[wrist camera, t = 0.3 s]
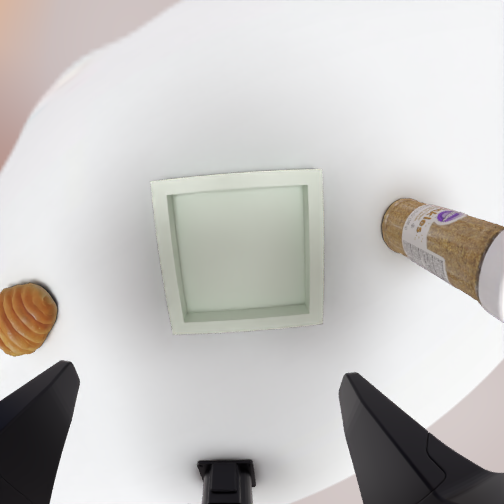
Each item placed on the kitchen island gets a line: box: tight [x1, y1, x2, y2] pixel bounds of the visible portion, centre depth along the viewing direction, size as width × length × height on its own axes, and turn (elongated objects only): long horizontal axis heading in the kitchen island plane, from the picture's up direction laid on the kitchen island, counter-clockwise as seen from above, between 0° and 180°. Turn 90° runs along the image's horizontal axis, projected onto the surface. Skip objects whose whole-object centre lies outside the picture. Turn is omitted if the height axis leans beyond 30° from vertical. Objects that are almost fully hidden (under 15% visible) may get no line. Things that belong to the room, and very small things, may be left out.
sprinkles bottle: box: [382, 199, 504, 323], centre depth 15 cm, size 5×5×13 cm
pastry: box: [0, 283, 57, 356], centre depth 21 cm, size 9×7×4 cm
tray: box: [150, 169, 324, 335], centre depth 21 cm, size 11×11×2 cm
